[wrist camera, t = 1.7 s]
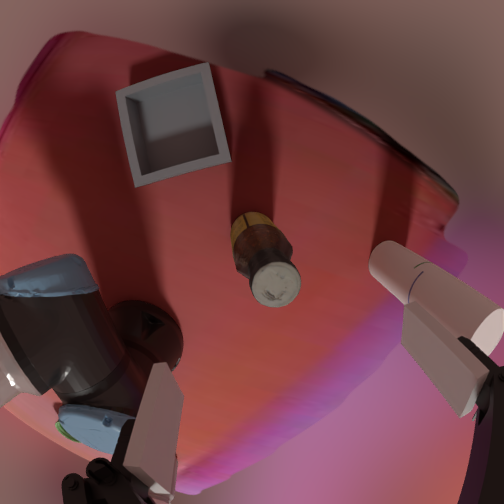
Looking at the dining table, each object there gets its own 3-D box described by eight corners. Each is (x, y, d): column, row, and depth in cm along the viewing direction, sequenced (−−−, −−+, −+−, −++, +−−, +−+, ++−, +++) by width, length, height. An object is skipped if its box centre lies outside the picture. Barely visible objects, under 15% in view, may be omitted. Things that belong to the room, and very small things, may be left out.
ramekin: (70, 429, 54) (65, 439, 50) (55, 408, 51) (49, 419, 47) (93, 434, 55) (89, 445, 50) (79, 413, 52) (73, 425, 48)
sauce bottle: (240, 258, 42) (248, 334, 23) (223, 220, 40) (215, 271, 21) (281, 240, 41) (321, 304, 23) (265, 201, 40) (296, 237, 21)
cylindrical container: (360, 262, 43) (457, 350, 20) (389, 231, 42) (502, 295, 18) (382, 287, 45) (471, 375, 22) (409, 259, 44) (509, 328, 20)
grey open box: (147, 184, 38) (135, 187, 32) (129, 99, 33) (115, 91, 28) (231, 161, 37) (231, 161, 32) (211, 74, 33) (208, 61, 28)
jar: (181, 452, 57) (175, 508, 40) (175, 466, 59) (170, 516, 42) (144, 442, 55) (132, 498, 38) (142, 457, 58) (132, 507, 41)
